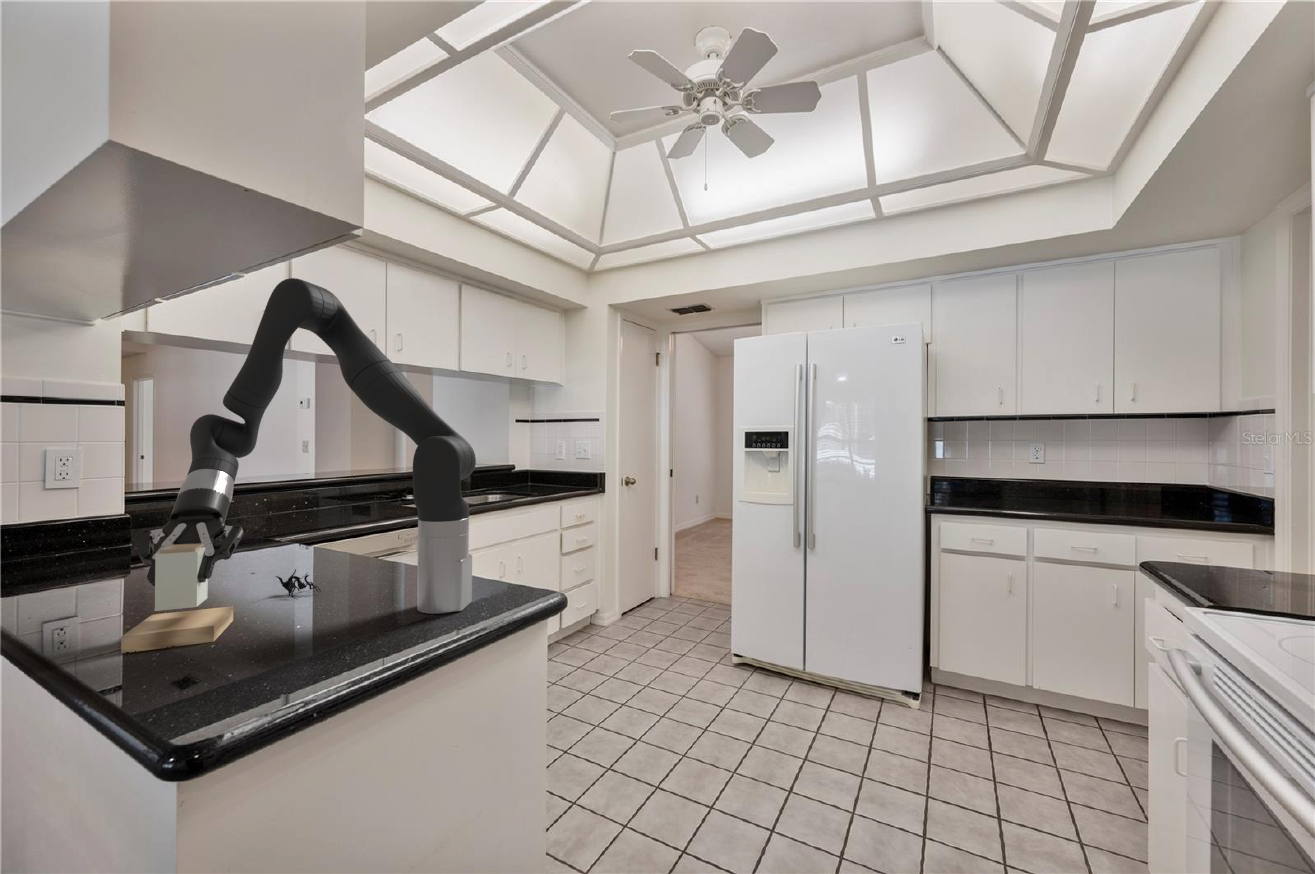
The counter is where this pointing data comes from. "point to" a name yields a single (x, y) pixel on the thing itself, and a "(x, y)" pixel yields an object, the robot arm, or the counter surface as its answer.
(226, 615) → the base slab
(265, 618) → the counter surface
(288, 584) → the creature
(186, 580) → the pale green upright block
